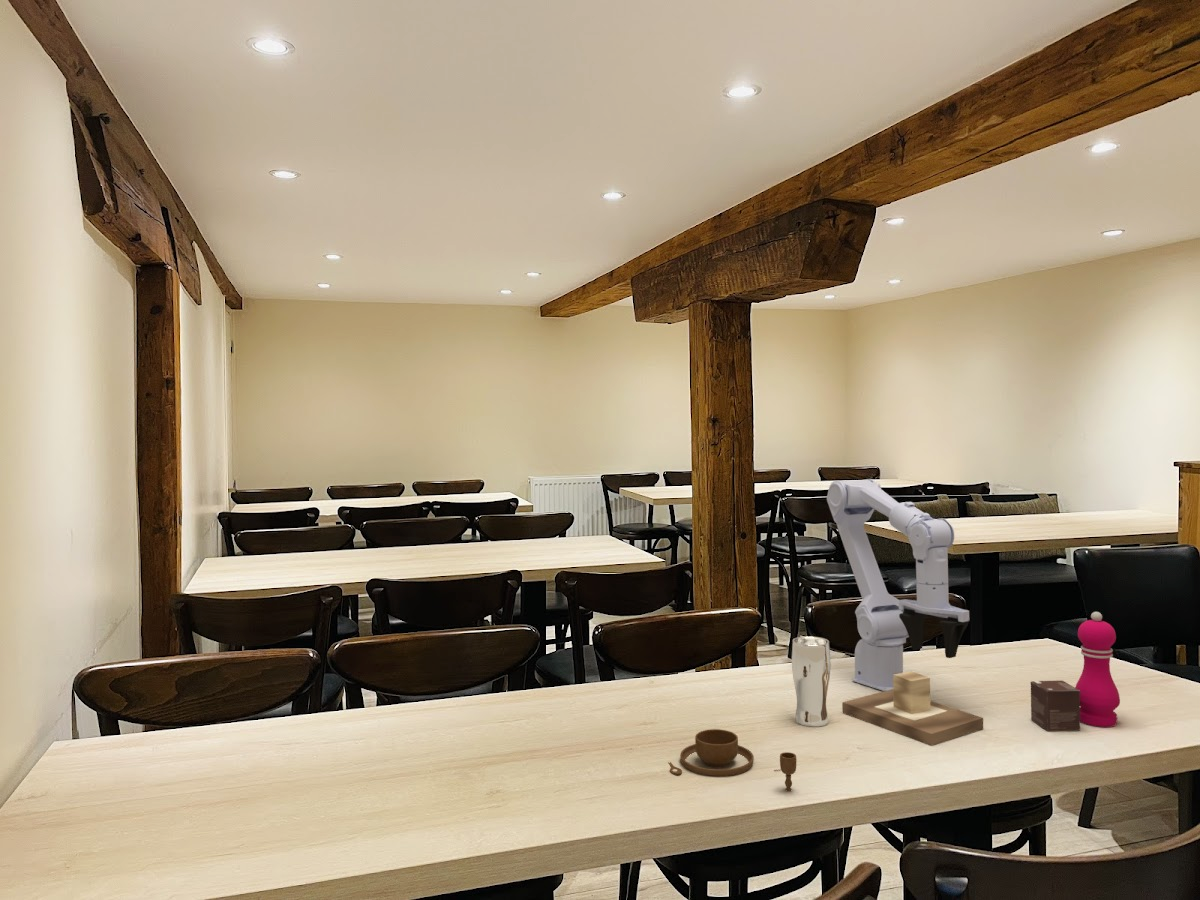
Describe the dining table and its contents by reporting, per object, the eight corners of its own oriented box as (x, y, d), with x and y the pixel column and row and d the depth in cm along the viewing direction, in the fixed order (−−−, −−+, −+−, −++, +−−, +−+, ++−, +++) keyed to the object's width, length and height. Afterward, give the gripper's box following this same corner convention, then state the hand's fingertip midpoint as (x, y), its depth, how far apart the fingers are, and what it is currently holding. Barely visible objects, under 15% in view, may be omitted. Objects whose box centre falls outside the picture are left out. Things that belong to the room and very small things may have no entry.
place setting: (755, 747, 149) (754, 713, 149) (804, 796, 129) (804, 757, 129) (657, 757, 145) (656, 722, 145) (692, 809, 126) (692, 769, 126)
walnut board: (842, 712, 163) (842, 701, 163) (892, 699, 171) (892, 688, 171) (931, 745, 146) (931, 732, 146) (983, 728, 154) (983, 716, 153)
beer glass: (827, 714, 162) (826, 636, 162) (834, 728, 155) (833, 645, 155) (790, 714, 163) (789, 635, 163) (794, 727, 156) (793, 645, 156)
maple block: (893, 706, 160) (893, 674, 160) (912, 703, 162) (912, 671, 161) (911, 714, 156) (911, 681, 155) (930, 710, 157) (930, 677, 157)
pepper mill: (1126, 729, 152) (1126, 616, 151) (1081, 727, 153) (1081, 615, 153) (1111, 715, 159) (1110, 608, 158) (1068, 713, 160) (1068, 607, 160)
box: (1081, 731, 152) (1081, 690, 151) (1046, 732, 152) (1046, 690, 151) (1063, 719, 158) (1063, 679, 157) (1030, 720, 158) (1029, 680, 158)
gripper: (979, 585, 161) (980, 657, 161) (914, 575, 174) (916, 642, 174) (954, 589, 157) (956, 663, 158) (890, 579, 170) (892, 647, 170)
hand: (933, 653), depth 165 cm, fingers open, 7 cm apart
